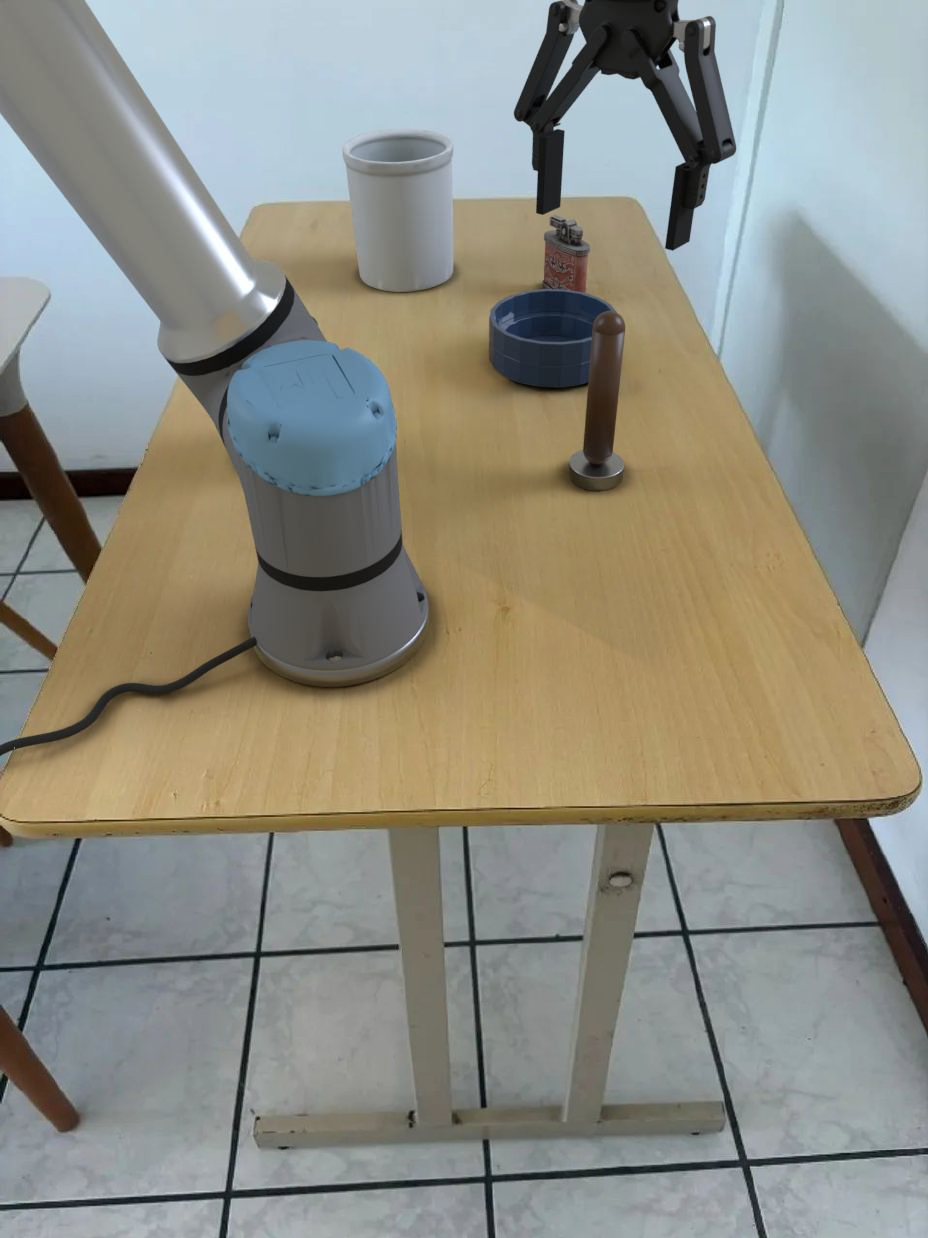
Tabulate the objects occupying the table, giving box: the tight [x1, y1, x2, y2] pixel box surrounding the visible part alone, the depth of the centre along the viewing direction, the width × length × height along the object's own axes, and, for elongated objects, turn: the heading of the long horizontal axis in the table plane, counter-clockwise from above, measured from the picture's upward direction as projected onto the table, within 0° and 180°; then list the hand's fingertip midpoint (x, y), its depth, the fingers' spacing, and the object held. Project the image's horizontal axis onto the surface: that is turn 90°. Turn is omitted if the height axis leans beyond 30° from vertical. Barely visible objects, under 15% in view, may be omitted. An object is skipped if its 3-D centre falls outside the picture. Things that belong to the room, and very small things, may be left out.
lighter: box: [541, 214, 591, 293], centre depth 129 cm, size 8×3×10 cm, turn 34°
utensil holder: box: [341, 128, 454, 293], centre depth 133 cm, size 15×15×18 cm
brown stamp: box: [568, 311, 626, 492], centre depth 93 cm, size 6×6×18 cm
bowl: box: [488, 288, 618, 388], centre depth 116 cm, size 15×15×6 cm
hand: (610, 227), depth 84 cm, fingers open, 13 cm apart
